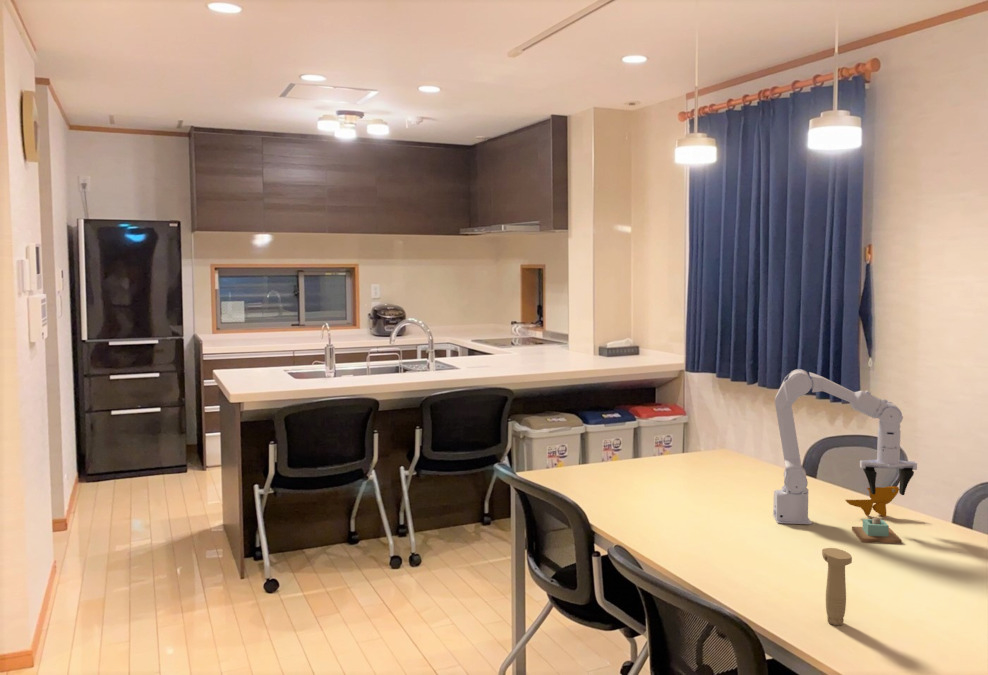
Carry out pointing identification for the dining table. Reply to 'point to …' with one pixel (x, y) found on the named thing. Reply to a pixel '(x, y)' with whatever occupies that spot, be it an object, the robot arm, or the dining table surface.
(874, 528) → the collar
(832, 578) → the handle
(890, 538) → the post block
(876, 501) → the toy
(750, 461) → the dining table surface
